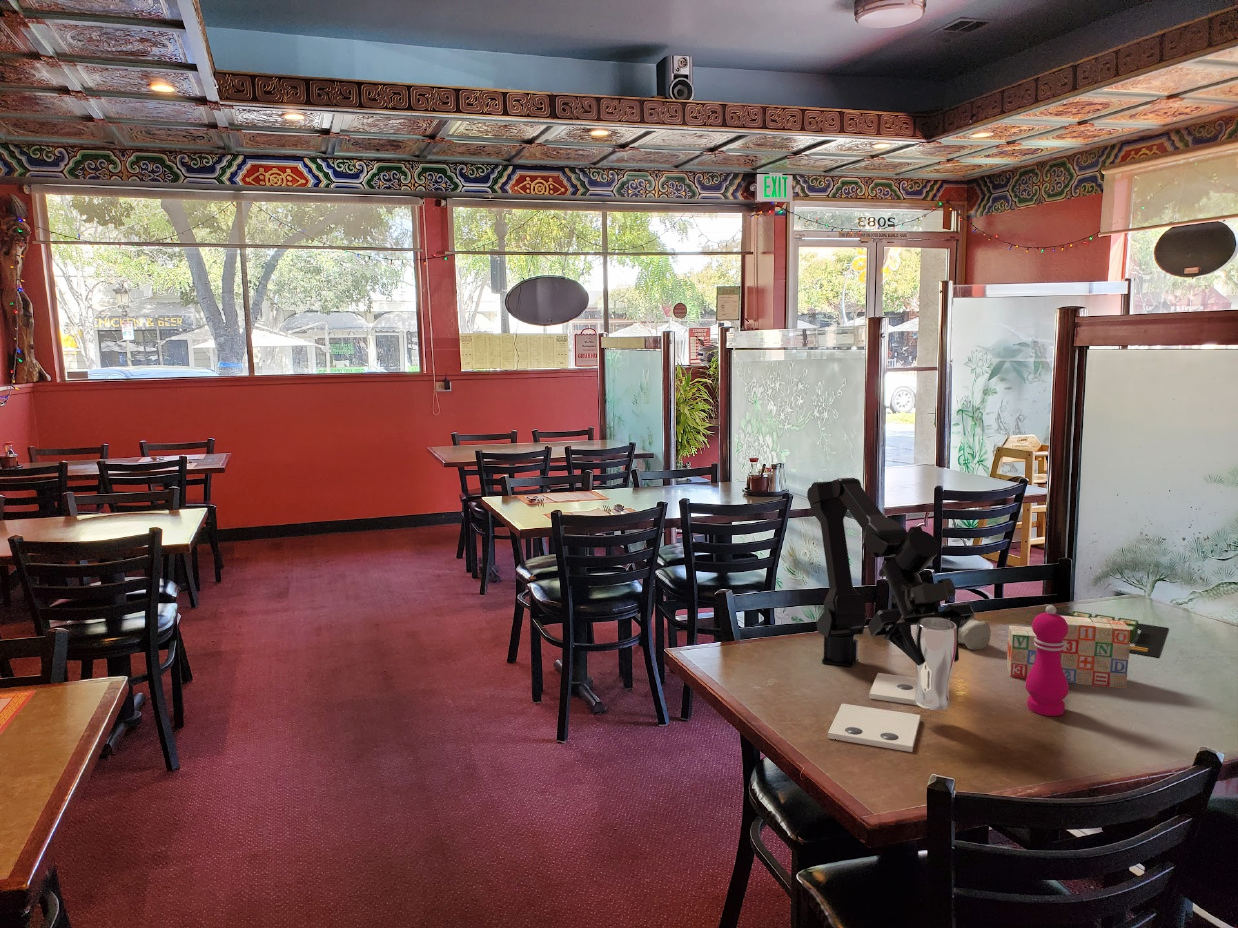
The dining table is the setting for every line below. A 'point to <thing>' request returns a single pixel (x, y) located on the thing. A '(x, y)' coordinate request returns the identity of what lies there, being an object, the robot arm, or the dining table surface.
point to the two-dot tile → (875, 727)
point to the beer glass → (934, 661)
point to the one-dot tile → (894, 688)
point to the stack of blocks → (1078, 651)
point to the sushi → (1147, 640)
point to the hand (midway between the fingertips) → (938, 662)
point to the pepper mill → (1048, 665)
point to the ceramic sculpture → (974, 634)
